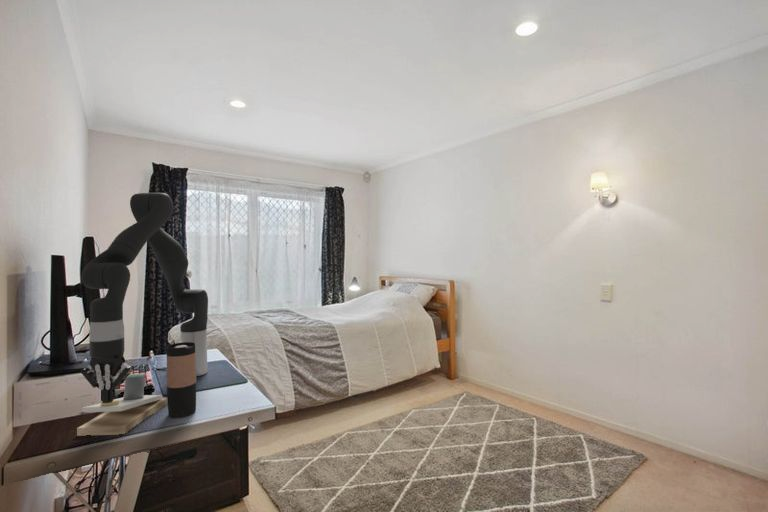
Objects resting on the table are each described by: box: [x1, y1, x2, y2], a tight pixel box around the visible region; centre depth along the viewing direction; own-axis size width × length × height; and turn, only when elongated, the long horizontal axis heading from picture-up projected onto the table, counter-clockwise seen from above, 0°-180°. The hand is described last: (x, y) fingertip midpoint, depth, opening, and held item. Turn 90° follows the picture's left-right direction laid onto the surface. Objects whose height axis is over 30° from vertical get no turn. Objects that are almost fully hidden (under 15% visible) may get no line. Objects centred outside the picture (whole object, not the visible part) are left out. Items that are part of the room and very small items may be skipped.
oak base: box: [76, 397, 168, 437], centre depth 108 cm, size 20×12×2 cm, turn 1°
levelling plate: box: [81, 373, 163, 413], centre depth 108 cm, size 19×10×8 cm, turn 1°
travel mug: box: [166, 342, 197, 419], centre depth 111 cm, size 8×8×20 cm
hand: (108, 402), depth 101 cm, fingers closed
